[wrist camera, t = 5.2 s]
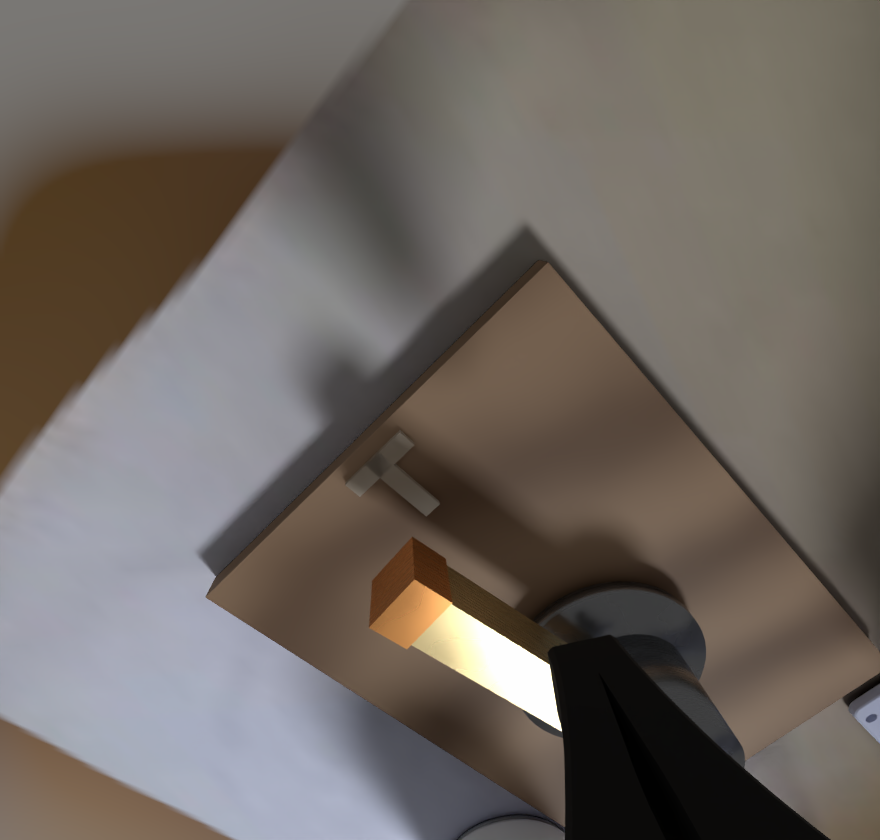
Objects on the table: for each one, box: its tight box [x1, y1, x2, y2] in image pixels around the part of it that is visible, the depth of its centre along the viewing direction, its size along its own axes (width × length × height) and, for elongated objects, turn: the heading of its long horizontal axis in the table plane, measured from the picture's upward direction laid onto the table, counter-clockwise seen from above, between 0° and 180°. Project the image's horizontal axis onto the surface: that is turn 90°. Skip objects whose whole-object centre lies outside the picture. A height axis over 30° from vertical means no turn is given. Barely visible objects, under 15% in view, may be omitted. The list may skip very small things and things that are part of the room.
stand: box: [206, 260, 880, 827], centre depth 19 cm, size 22×15×1 cm
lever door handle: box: [369, 537, 745, 768], centre depth 16 cm, size 13×7×4 cm, turn 50°
